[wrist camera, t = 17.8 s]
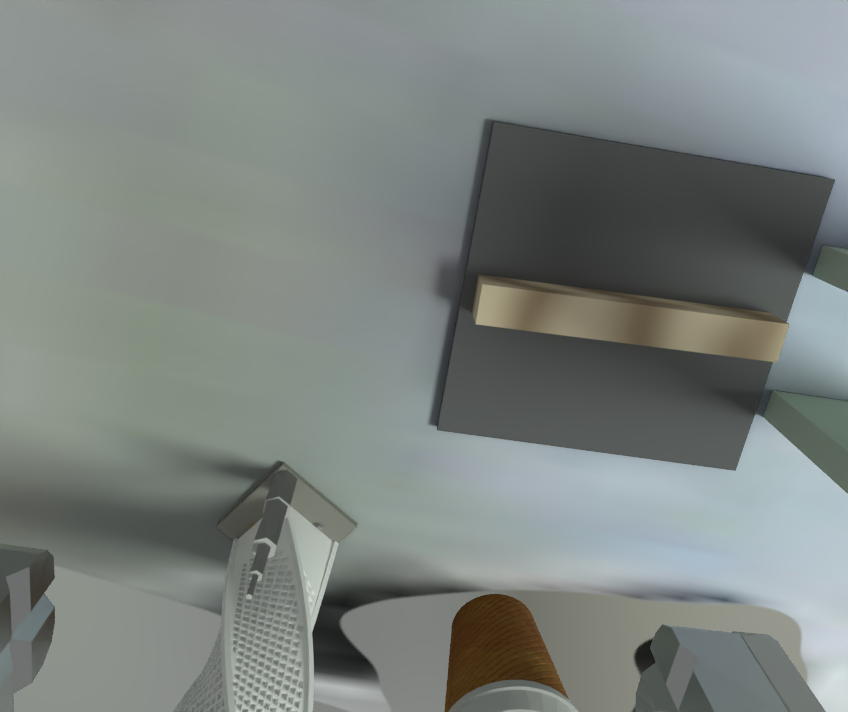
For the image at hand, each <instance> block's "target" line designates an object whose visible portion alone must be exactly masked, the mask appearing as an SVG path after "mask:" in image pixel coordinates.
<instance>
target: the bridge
mask: <svg viewBox="0 0 848 712" xmlns="http://www.w3.org/2000/svg"><path fill="white" fill-rule="evenodd" d="M812 276H814V277H816V278H818V279H820V280H822V281H825V282H827V283H829V284H831V285H834V286H836V287H838V288H840V289H842V290H845V291H847V292H848V249H843V248H837V247H831V246H825V245H823V246H822V249H821V252H820V255H819V258H818V261H817V264H816V266H815V269H814V272H813V275H812ZM763 417H764V418H765V419H766V420H767V421H768V422H769V423H770V424H772V425H773V426H774V427H775V428H776V429H777V430H778V431H779V432H780V433H781V434H783V435H784V436H785V437H786V438H787V439H788V440H789V441H790V442H791V443H792V444H794V445H795V446H796V447H797V448H798V449H799V450H800V451H801V452H802V453H803V454H805V455H806V456H807V457H808V458H809V459H810V460H811V461H812V462H813V463H815V464H816V465H817V466H818V467H819V468H820V469H821V470H822V471H823V472H824V473H826V474H827V475H828V476H829V477H830V478H831V479H832V480H833V481H834V482H835V483H837V484H838V485H839V486H840V487H841V488H842V489H843V490H844V491H845V492H846V493H848V401H843V400H836V399H829V398H822V397H815V396H809V395H802V394H795V393H788V392H781V391H774V390H772V393H771V396H770V399H769V402H768V405H767V408H766V410H765V413H764V416H763Z"/></svg>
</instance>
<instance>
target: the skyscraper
mask: <svg viewBox="0 0 848 712" xmlns="http://www.w3.org/2000/svg"><path fill="white" fill-rule="evenodd" d="M356 527H357V523H356V522H354V521H353V520H352V519H351V518H350V517H348V516H347V515H346V514H345V513H344V512H343V511H341V510H340V509H339V508H338V507H337V506H335V505H334V504H333V503H332V502H331V501H329V500H328V499H327V498H326V497H325V496H324V495H322V494H321V493H320V492H319V491H318V490H316V489H315V488H314V487H313V486H312V485H310V484H309V483H308V482H307V481H306V480H305V479H303V478H302V477H301V476H300V475H299V474H297V473H296V472H295V471H294V470H293V469H291V468H290V467H289V466H288V465H287V464H286V463H284V462H283V463H282V464H281V465H280V466H279V467H278V468H277V469H276V470H275V471H274V472H273V473H272V474H271V475H269V476H268V477H267V478H266V479H265V480H264V481H263V482H262V483H261V484H260V485H259V486H258V487H257V488H256V489H255V490H253V491H252V492H251V493H250V494H249V495H248V496H247V497H246V498H245V499H244V500H243V501H242V502H241V503H240V504H239V505H237V506H236V507H235V508H234V509H233V510H232V511H231V512H230V513H229V514H228V515H227V516H226V517H225V518H224V519H222V520H221V521H220V522H219V523H218V524H217V527H216V528H217V529H218V530H220V531H221V532H222V533H224V534H225V535H226V536H227V537H229V538H230V539H231V540H232V541H233V544H232V548H231V553H230V557H229V562H228V566H227V572H226V578H225V585H224V593H223V604H222V621H221V628H220V631H219V634H218V637H217V640H216V642H215V645H214V647H213V650H212V652H211V654H210V657H209V659H208V661H207V663H206V665H205V667H204V669H203V671H202V673H201V674H200V675H199V677H198V678H197V679H196V681H195V682H194V683H193V684H192V686H191V687H190V688H189V690H188V691H187V693H186V694H185V695H184V696H183V698H182V699H181V701H180V702H179V704H178V705H177V707H176V708H175V710H174V711H173V712H313V698H314V659H313V639H312V631H313V628H314V625H315V622H316V619H317V616H318V612H319V609H320V606H321V602H322V599H323V596H324V593H325V589H326V586H327V582H328V579H329V576H330V572H331V569H332V565H333V562H334V558H335V555H336V551H337V548H338V544H339V542H340V541H341V540H343V539H344V538H345V537H346V536H347V535H348V534H349V533H351V532H352V531H353V530H354V529H355V528H356Z"/></svg>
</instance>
